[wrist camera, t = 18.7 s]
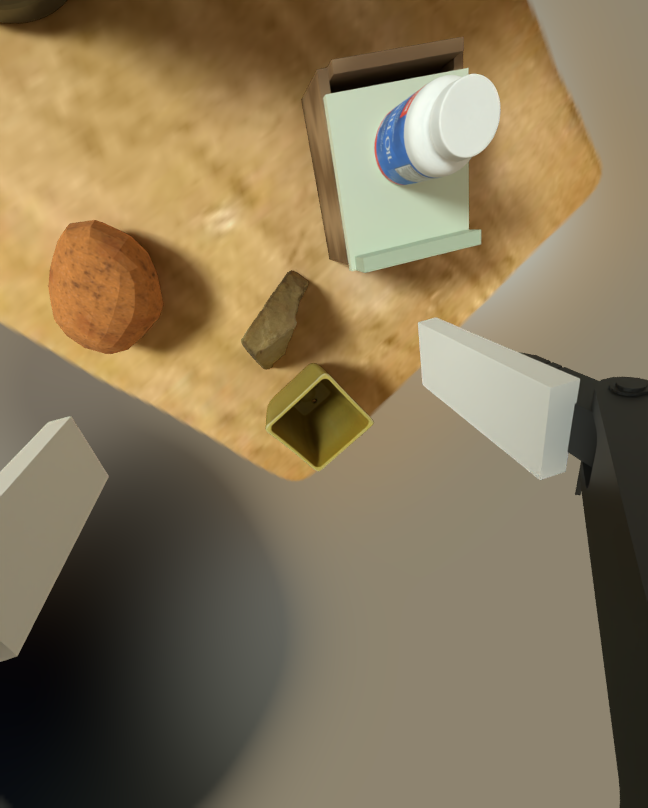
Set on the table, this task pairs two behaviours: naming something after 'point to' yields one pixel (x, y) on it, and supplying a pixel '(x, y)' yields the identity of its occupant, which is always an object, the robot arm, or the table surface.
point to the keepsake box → (355, 76)
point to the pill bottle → (437, 129)
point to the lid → (391, 186)
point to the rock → (275, 322)
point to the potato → (103, 287)
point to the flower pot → (315, 417)
